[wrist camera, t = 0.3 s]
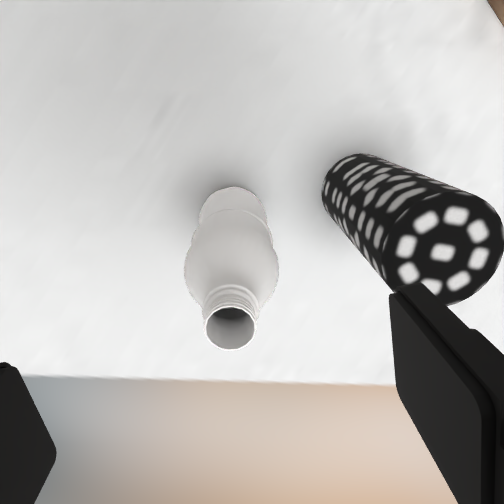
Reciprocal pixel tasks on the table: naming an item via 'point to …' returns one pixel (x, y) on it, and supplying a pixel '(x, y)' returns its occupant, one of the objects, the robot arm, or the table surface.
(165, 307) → the table surface
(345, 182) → the white-spotted black cylinder
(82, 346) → the table surface
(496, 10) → the block
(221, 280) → the water bottle
